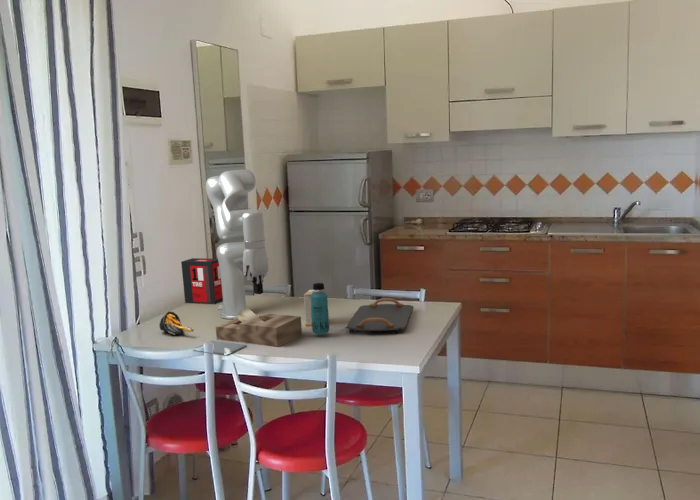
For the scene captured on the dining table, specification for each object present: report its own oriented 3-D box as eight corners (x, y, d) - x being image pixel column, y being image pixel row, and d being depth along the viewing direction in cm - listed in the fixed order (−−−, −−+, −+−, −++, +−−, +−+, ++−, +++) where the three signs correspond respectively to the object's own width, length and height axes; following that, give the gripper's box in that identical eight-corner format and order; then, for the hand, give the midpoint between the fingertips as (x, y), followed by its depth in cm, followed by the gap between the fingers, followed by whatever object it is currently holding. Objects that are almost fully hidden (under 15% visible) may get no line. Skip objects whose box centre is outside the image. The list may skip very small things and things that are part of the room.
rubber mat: (192, 350, 234) (192, 349, 234) (212, 342, 244) (212, 340, 244) (227, 355, 226) (226, 354, 226) (246, 346, 236) (246, 344, 236)
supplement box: (317, 326, 258) (315, 293, 256) (305, 326, 259) (303, 293, 257) (322, 320, 266) (320, 289, 264) (310, 320, 267) (308, 289, 265)
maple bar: (236, 317, 248) (240, 310, 247) (244, 314, 252) (247, 307, 251) (260, 339, 244) (264, 332, 243) (268, 335, 248) (271, 328, 247)
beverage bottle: (312, 334, 247) (308, 282, 244) (329, 332, 248) (326, 281, 245) (312, 338, 241) (309, 285, 238) (330, 337, 241) (327, 284, 238)
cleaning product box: (185, 303, 311) (181, 261, 308) (196, 298, 319) (192, 258, 316) (215, 304, 305) (211, 262, 302) (225, 299, 313) (221, 258, 310)
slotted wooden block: (216, 339, 247) (215, 321, 246) (243, 327, 261) (241, 310, 260) (277, 346, 234) (276, 327, 232) (301, 334, 247) (300, 316, 246)
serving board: (361, 310, 280) (360, 296, 279) (415, 310, 276) (415, 296, 275) (343, 336, 243) (342, 320, 242) (405, 337, 238) (404, 320, 237)
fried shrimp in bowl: (170, 316, 267) (202, 305, 258) (171, 343, 263) (203, 332, 254) (152, 313, 259) (184, 301, 251) (153, 340, 256) (186, 329, 247)
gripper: (258, 241, 249) (262, 288, 252) (234, 248, 237) (238, 297, 239) (274, 242, 246) (278, 289, 249) (250, 248, 233) (254, 298, 236)
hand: (258, 293), depth 244 cm, fingers closed
